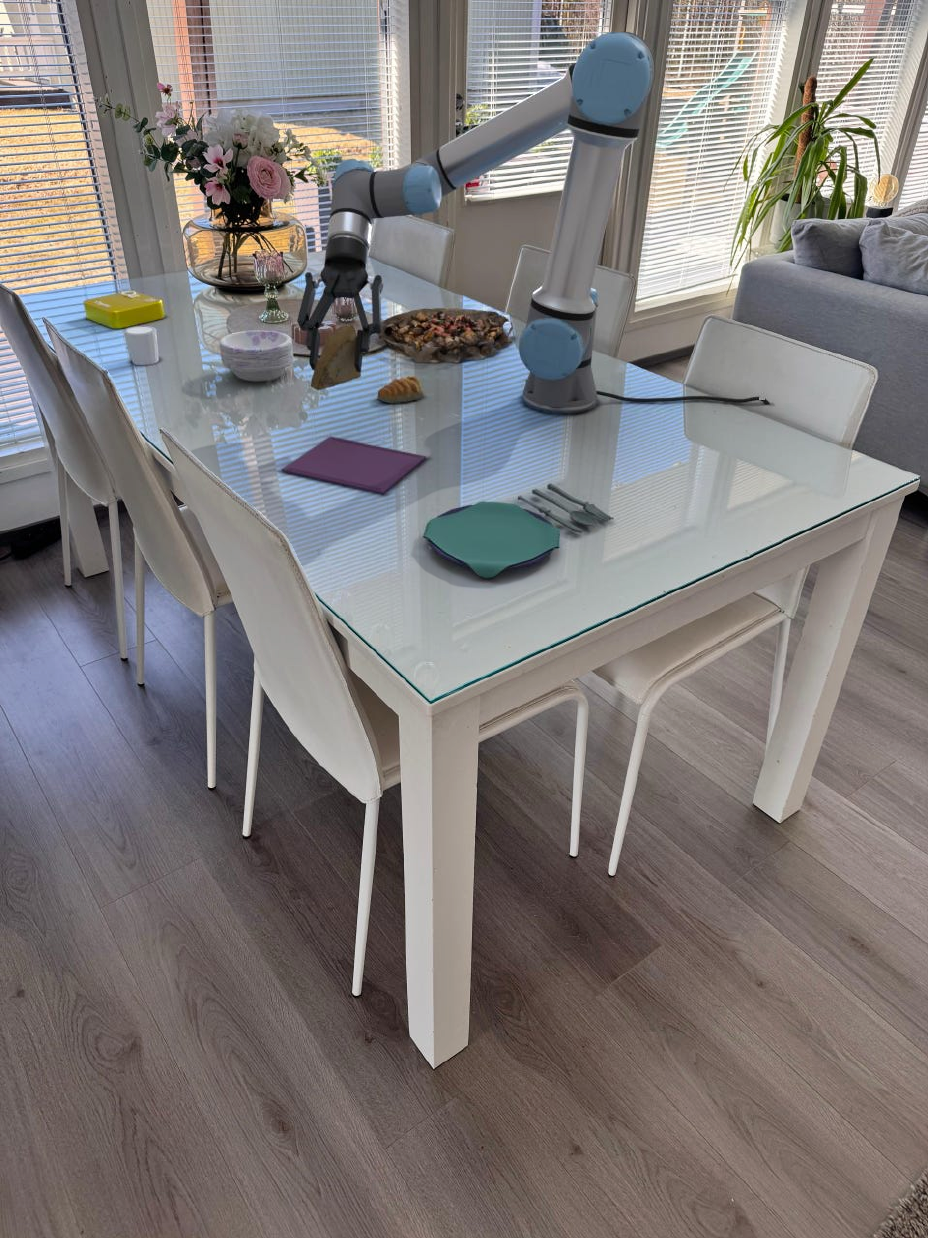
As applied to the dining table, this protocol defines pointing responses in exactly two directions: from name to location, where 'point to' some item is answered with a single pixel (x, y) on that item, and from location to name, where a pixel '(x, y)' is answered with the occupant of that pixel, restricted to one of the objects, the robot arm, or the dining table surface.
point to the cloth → (355, 465)
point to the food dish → (446, 334)
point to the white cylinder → (142, 344)
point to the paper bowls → (257, 354)
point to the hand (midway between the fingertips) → (335, 367)
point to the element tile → (124, 309)
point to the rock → (336, 359)
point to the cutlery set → (503, 533)
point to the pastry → (401, 390)
